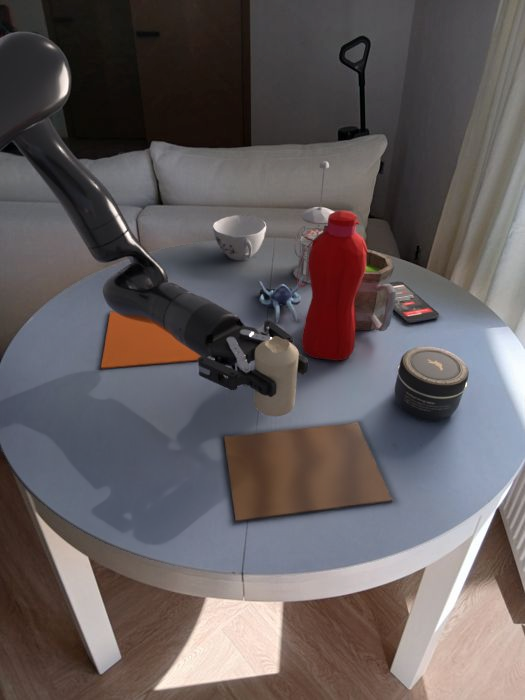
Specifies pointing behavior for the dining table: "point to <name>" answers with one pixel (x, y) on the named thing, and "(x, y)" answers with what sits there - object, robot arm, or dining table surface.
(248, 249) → the teacup
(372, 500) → the brown flat board
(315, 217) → the french press
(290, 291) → the figurine
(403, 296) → the smartphone
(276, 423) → the dining table surface
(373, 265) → the mug
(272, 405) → the candle
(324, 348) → the water bottle
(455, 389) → the jar
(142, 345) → the towel
